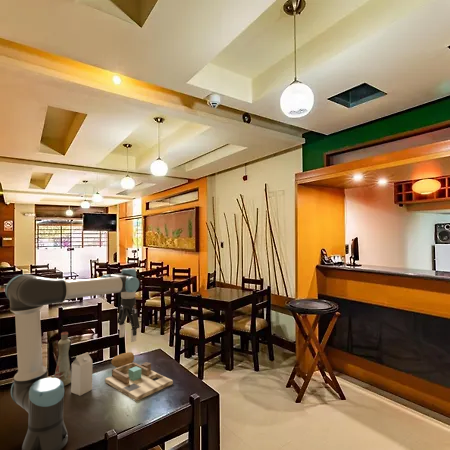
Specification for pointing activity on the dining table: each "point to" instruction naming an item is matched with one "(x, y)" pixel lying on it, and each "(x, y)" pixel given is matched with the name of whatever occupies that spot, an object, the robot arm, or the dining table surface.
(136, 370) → the teal block
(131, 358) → the potato
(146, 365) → the walnut cube
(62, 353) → the bottle
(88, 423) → the dining table surface
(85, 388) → the milk carton
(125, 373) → the cubby board
